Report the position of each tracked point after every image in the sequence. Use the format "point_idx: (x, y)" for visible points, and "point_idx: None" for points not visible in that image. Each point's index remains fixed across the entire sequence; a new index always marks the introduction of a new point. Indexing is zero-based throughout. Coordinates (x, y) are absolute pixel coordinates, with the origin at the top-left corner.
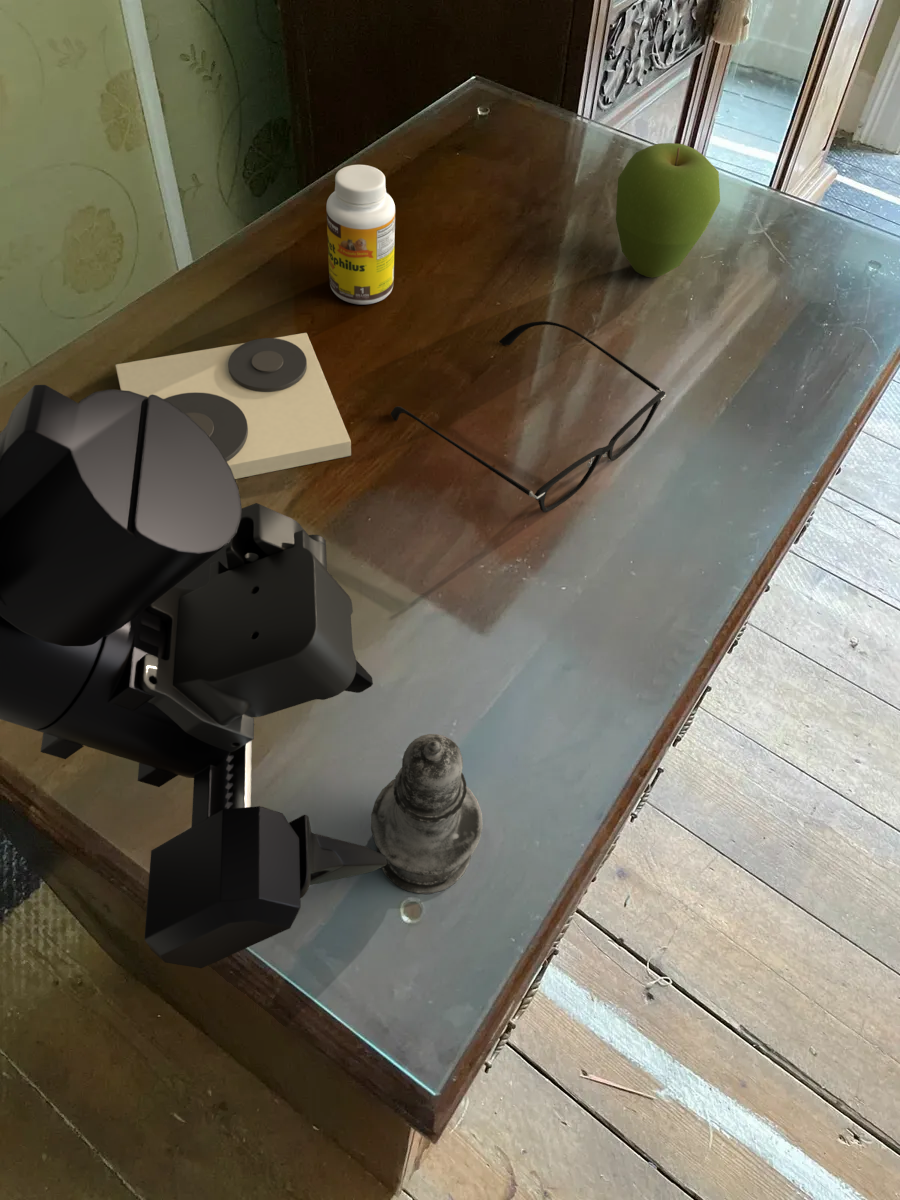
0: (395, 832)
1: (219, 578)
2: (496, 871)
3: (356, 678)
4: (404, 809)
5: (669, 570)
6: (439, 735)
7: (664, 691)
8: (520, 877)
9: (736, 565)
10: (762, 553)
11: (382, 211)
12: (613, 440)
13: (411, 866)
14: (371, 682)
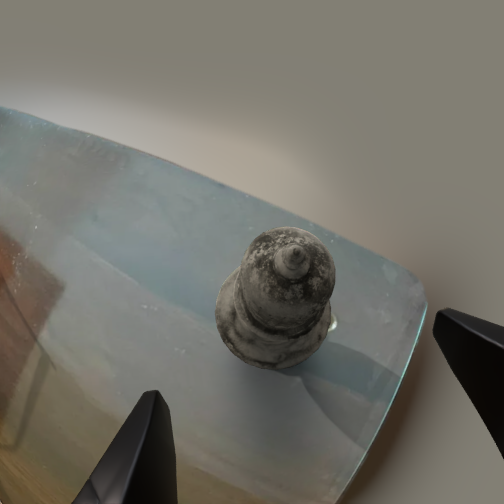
0: (299, 339)
1: None
2: None
3: (156, 419)
4: (316, 321)
5: (38, 162)
6: (249, 261)
7: (120, 153)
8: None
9: (45, 130)
10: (43, 120)
11: None
12: None
13: (325, 318)
14: (155, 392)
